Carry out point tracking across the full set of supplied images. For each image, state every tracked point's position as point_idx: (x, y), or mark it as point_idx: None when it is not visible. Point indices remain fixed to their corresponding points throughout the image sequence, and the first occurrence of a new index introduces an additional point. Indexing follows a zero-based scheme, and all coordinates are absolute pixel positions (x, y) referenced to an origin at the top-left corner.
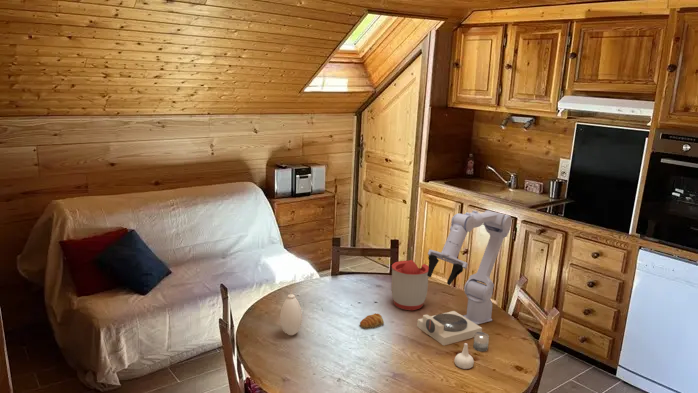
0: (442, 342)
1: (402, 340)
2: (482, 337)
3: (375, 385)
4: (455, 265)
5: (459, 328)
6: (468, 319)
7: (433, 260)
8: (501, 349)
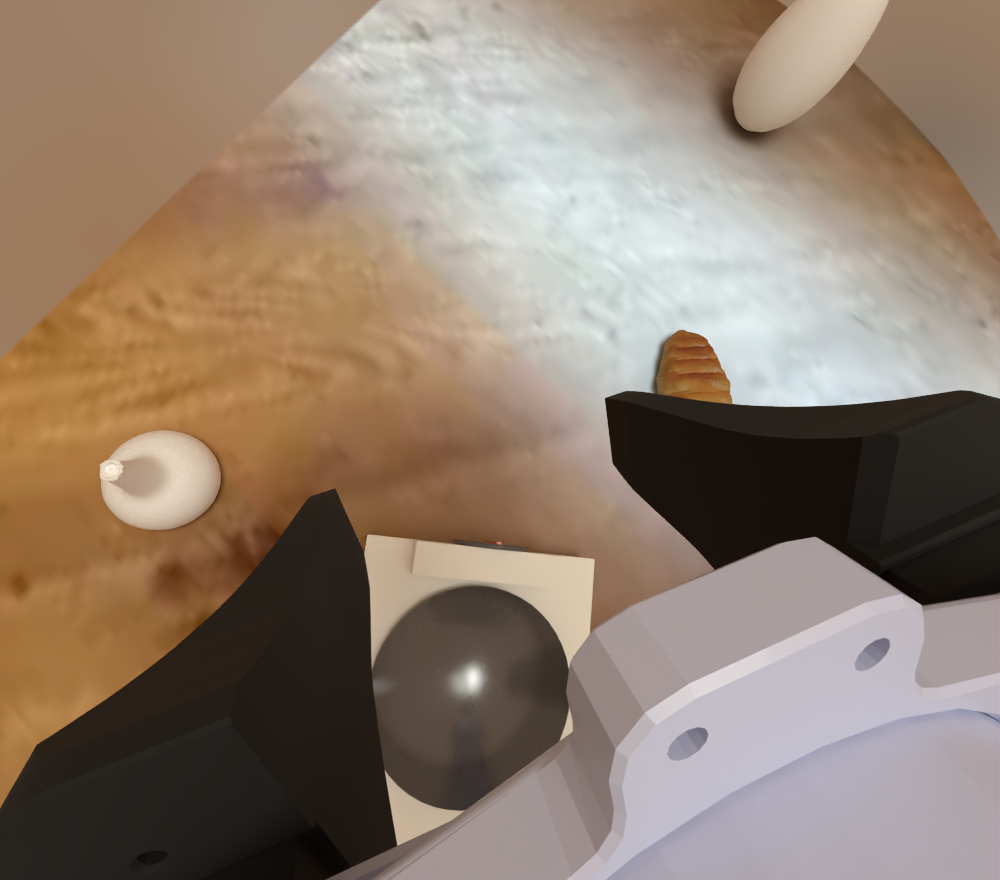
0: (379, 535)
1: (513, 404)
2: None
3: (310, 85)
4: (157, 704)
5: (375, 681)
6: None
7: (793, 439)
8: None
